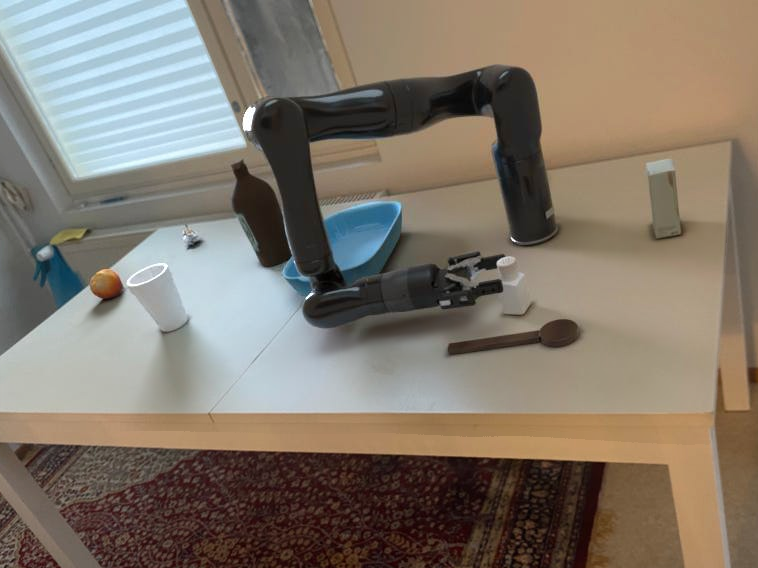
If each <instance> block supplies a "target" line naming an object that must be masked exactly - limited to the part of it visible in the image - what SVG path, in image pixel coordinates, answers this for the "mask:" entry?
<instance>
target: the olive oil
mask: <svg viewBox="0 0 758 568" xmlns="http://www.w3.org/2000/svg"><path fill="white" fill-rule="evenodd" d="M229 165H230V167H231V171H232V173H233V175H234V177H235V182H234V185H233V188H232V190H231V194H230V205H231V208H232V211H233V213H234V215H235V218H237V221H238V223H239V224H240V226H241V227H242V228H241V229H242V230H243V232H244V233H245V236H246V238H247V240H248V241H249V244H250V245H251V248H252V249H253V252H254V253H255V255H256V257H257V259H258V261H259V264H260V265H261V266H264V267H271V266H276V265H279V264H282V263H284V262H286V261H287V260H290V259H291V257H292V254H291V250H290V246H289V243H288V240H287V236H286V231H285V226H284V219H283V210H282V207H281V206H280V202H279V200H278V198H277V194H276V192H275V190H274V188H273V187H272V186H271V184H270V183H268V182H267V181H266V180H264V179H261V178H259V177H257V176H255V175H253V174H251V173H250V171H249V169H248V166H247V164H246V163H245V161H244V159H243V158H237V159H234V160H232V161H231V162H230V163H229Z"/></svg>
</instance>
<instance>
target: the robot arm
mask: <svg viewBox="0 0 758 568" xmlns="http://www.w3.org/2000/svg"><path fill="white" fill-rule="evenodd" d="M471 117H485V118H491V119H493V122H494V128H495V133H496V139H494V140H493V142H492V143H491V145H490V153H491V157H492V161H493V166H494V170H495V174H496V178H497V182H498V187H499V191H500V196H501V199H502V203H503V207H504V211H505V217H506V220H507V221H506V222H507V225H508V229H509V234H510V240H511V242H512V243H513V244H515V245H518V246H533V245H537V244H542V243H544V242H546V241H548V240H550V239H552V238H554V236H555V235H556V234H557V233H558V231H559V226H558V224H557V219H556V214H555V213H556V212H555V206H554V204H553V198H552V194H551V189H550V188H551V187H550V184H549V178H548V174H547V173H548V172H547V169H546V168H547V167H546V163H545V162H546V161H545V158H544V153H543V148H542V143H541V139H542V133H543V124H542V116H541V109H540V103H539V96H538V91H537V87H536V83H535V80H534V78H533V77H532V75H531V73H530V72H529V71H528V70H527V69H526V68H523V67H520V66H516V65H509V64H491V65H485V66H483V67H480V68H479V67H478V68H475V69H473V70H472V69H471V70H469V71H464V72H460V73H455V74H452V75H445V76H417V77H416V76H415V77H405V78H404V77H403V78H395V79H394V78H393V79H387V80H381V81H380V80H379V81H373V82H370V83H364V84H360V85H355V86H351V87H347V88H344V89H340V90H336V91H333V92H329V93H323V94H317V95H304V96H301V95H300V96H278V95H277V96H276V95H267V96H263V97H260V98H258V99H257V100H255V101H254V102H253V103H252V104H250V106H249V107H248V108H247V110H246V112H245V114H244V117H243V121H242V128H243V132H244V135H245V137H246V139H247V140H248V142H249V143H250V144H251V145H252V146H253V147H254V148H255V149H256V150H257V151H259V152H261V153H262V154H264V156H265V158H266V160H267V164H268V165H269V167H270V170H271V172H272V174H273V177H274V179H275V183H276V186H277V189H278V193H279V198H280V204H281V211H282V214H283V219H284V226H285V231H286V236H287V240H288V243H289V246H290V250H291V254H292V257H293V260H294V263H295V266H296V269H297V271H298V273H299V274H300V275H301V276H303V277H307V278H308V279H309V282H310V284H311V287H312V291H311V293H310V294H309V295H308V296H307V297H306V296H305V297H306V298H305V299H304V301H303V304H302V307H301V313H302V316H303V319H304V320H305V321H306V323H307V324H309V325H310V326H312V327H314V328H316V329H320V330H321V329H322V330H329V329H330V330H331V329H335V328H338V327H339V328H340V327H341V326H342V327H343V326H345V325H349V324H351V323H353V322H357V321H359V320H361V319H363V318H366V317H370V316H371V317H372V316H379V315H386V314H390V313H406V312H412V311H417V310H423V309H431V308H436V307H440V310H452V309H459V308H467V307H473V306H475V305H477V300H479V299H481V298H482V297H483V296H484V297H485V296H489V295H490V296H491V295H497V294H498V293H502V292H503V284H502V280H500V279H499V278H496V279H490V280H485V281H479V282H478V283H477V282H473V281H472V280H474V279H475V278H476V277H477V275H478V274H481V273H483V272H484V271H492V270H498V268H497V261H498V260H500V259H501V258H504V257H506V255H505V254H504V253H500V254H494V255H489V256H485V257H484V256H483V255H482V254H481V251H480V250H479V251H473V252H468V253H464V254H459V255H455V256H450V257H448V258H447V259H446V261H447V264H448V266H446V267H443V268H440V267H438V266H437V264H436V263H434V262H428V263H423V264H418V265H413V266H407V267H402V268H397V269H393V270H391V271H387V272H382V273H379V274H378V275H372V276H367V277H363V278H361V279H358V280H357V281H355V282H354V283H353V284H351V285H349V286H347V283H346V281H345V279H344V276H343V274H342V272H341V270H340V268H339V266H338V265H337V263H336V261H335V259H334V256H333V251H332V247H331V244H330V240H329V236H328V233H327V229H326V225H325V222H324V219H325V218H324V216H323V215H324V214H323V211H322V206H321V204H320V200H319V196H318V191H317V187H316V186H317V185H316V181H315V175H314V170H313V162H312V154H311V153H312V152H311V144H313V143H317V142H322V141H328V140H377V139H387V138H388V139H390V138H396V137H401V136H408V135H413V134H415V133H416V134H417V133H419V132H422V131H425V130H427V129H429V128H432V127H434V126H435V125H437V124H440V123H442V122H444V121H448V120H450V119H451V120H452V119H458V118H471Z"/></svg>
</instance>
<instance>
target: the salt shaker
mask: <svg viewBox="0 0 758 568" xmlns="http://www.w3.org/2000/svg"><path fill="white" fill-rule="evenodd" d="M497 272H498V275H499V278H498V279H500V280H502V284H503V292H502V293H497V294H498V298H499V301H500V305H501V310H502V313H503V314H505V315H517V316H518V315H520V316H522V315H525V313H526V312H527V310H528V309H529V307H530V306H531V304H532V299H531V294H530V291H529V287H528V282H527V277H526V274H525V273H523V272H519V267H518V262H517V259H516V257H514V256H511V255H510V256H505V257H504V258H501V259H500V260H498V261H497Z"/></svg>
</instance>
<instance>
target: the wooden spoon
mask: <svg viewBox="0 0 758 568" xmlns="http://www.w3.org/2000/svg"><path fill="white" fill-rule="evenodd" d="M579 334H580V330H579V326H578V324H577V323H576V322H575V321H574V320H572V319H568V318H559V319H555V320H551V321H548V322H546V323H545V324H543V325H542V326H541V328H540V329H537V330H531V331H524V332H518V333H517V332H516V333H512V334H504V335H498V336H491V337H483V338H477V339H471V340H470V339H469V340H463V341H456V342H450V343H448V345H447V354H448V355H449V356H451V355H452V356H453V355H459V354H465V353H472V352H473V353H474V352H478V351H479V352H480V351H486V350H494V349H502V348H507V347H515V346H521V345H528V344H536V343H542V344H543V345H544V346H547V347H550V348H559V347H560V348H561V347H564V346H567V345H570V344H572V343H573V342H575V341H576V340H577V339H578V338H579Z"/></svg>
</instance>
